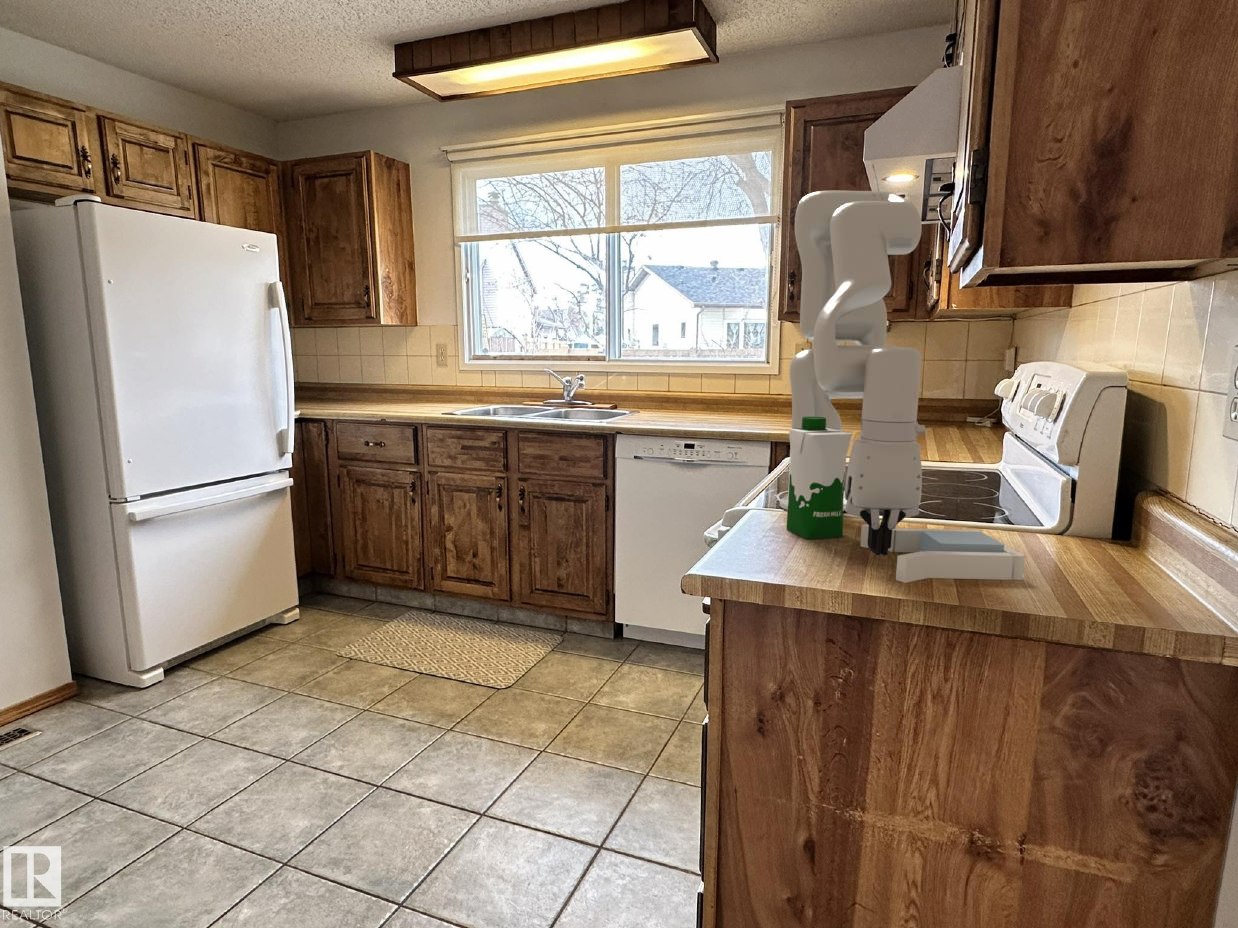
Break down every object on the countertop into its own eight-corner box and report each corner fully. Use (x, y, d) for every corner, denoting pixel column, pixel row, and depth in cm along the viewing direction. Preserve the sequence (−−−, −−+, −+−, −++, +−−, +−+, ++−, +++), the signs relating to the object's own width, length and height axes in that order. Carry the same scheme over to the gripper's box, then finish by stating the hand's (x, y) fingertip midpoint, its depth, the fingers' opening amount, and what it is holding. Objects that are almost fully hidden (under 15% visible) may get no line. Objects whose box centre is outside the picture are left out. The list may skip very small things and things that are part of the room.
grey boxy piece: (917, 557, 108) (919, 529, 108) (975, 558, 108) (978, 530, 107) (939, 574, 100) (942, 544, 99) (1003, 576, 100) (1006, 546, 99)
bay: (857, 544, 114) (859, 523, 114) (968, 546, 114) (970, 525, 113) (899, 582, 96) (901, 558, 95) (1031, 585, 95) (1034, 561, 95)
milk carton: (822, 525, 127) (829, 415, 123) (851, 538, 118) (859, 421, 115) (779, 528, 124) (784, 416, 121) (805, 541, 116) (812, 422, 112)
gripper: (928, 430, 105) (918, 546, 108) (829, 428, 106) (822, 545, 109) (950, 436, 98) (939, 561, 101) (844, 435, 98) (835, 559, 101)
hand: (878, 552), depth 105 cm, fingers closed
